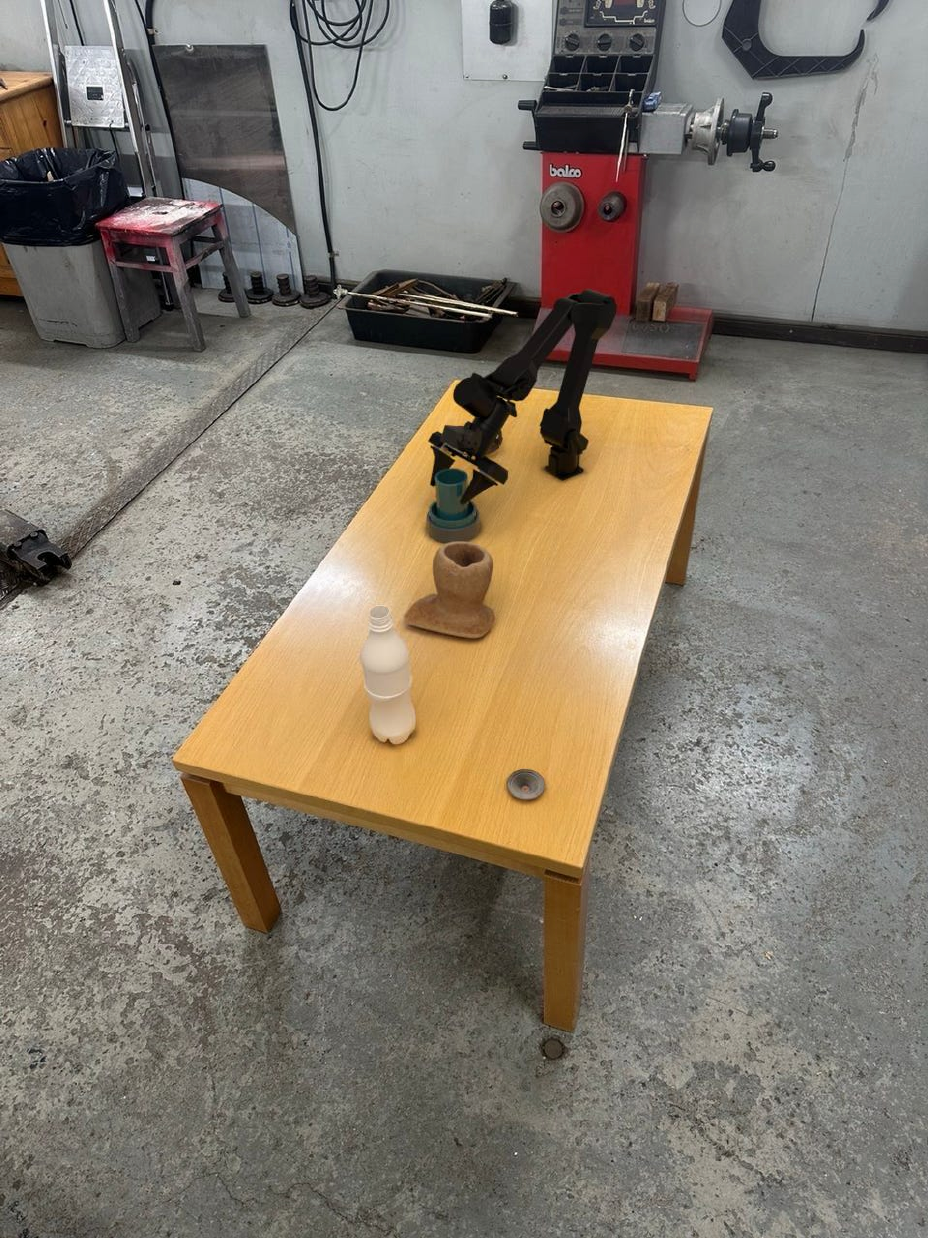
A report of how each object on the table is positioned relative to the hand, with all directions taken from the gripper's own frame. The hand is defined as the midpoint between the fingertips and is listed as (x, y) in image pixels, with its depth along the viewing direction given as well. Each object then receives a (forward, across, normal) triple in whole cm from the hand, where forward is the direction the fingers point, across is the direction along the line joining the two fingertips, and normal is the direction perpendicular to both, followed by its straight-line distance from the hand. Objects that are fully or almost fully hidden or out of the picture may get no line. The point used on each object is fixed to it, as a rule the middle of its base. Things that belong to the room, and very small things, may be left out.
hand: (446, 494), depth 170 cm
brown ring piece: (-13, -21, +26) cm, 36 cm away
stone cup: (+19, +22, -6) cm, 29 cm away
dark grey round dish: (+31, +58, -18) cm, 68 cm away
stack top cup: (+5, 0, +7) cm, 9 cm away
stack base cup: (+5, 0, +7) cm, 9 cm away
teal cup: (+4, 0, +6) cm, 7 cm away
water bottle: (+36, +36, -23) cm, 56 cm away
